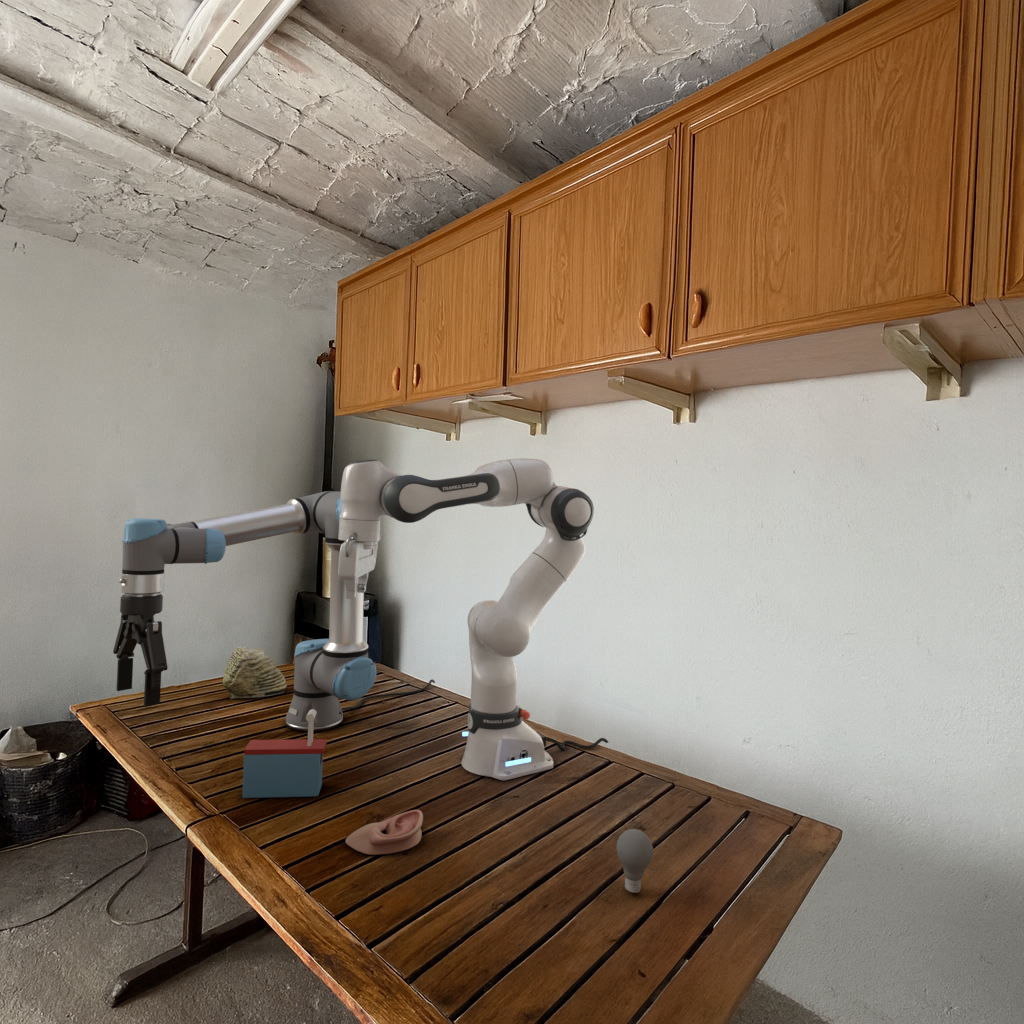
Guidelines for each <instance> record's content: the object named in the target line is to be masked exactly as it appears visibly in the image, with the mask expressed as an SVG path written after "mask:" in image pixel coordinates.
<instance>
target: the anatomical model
mask: <svg viewBox="0 0 1024 1024" xmlns="http://www.w3.org/2000/svg"><path fill="white" fill-rule="evenodd" d="M423 814H424V813H423V812H422V810H420V809H411V810H409V811H404V812H401V813H398V814H396V815H393V816H391V817H388V818H387V819H385V820H382V821H380V822H371V823H368V824H365V825H363V826H361V827H359V828H357V829H356V830H355V831H353V832H352V833H351V834H349V835H348V836H347V837H346V838H345V842H344V843H345V844H346V845H347V846H349V847H350V848H351V849H353V850H355V851H357V852H360V853H362V854H365V855H368V856H369V855H370V856H376V855H387V854H393V853H399V852H403V851H406V850H409V849H411V848H413V847H415V846H416V845H418V844H419V843H420V841H421V840H422V835H423V834H422V832H423V831H422V828H421V827H422V826H423V822H424V815H423Z"/></svg>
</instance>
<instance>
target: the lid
mask: <svg viewBox="0 0 1024 1024" xmlns="http://www.w3.org/2000/svg"><path fill="white" fill-rule="evenodd" d="M316 714H317V712H316V710H314V709H311V710H310V711H309V712H308V714H307V716H306V720H307V721H308V732H307V739H305V738H304V739H302V738H301V739H295V738H294V739H250V740H249V742H248V743H247V745H246V747H245V748H244V750H243V756H244V755H258V754H323V755H324V754H325V751H326V748H327V746H328V739H327V738H315V739H314V732H313V727H314V719H315V716H316Z"/></svg>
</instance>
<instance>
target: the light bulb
mask: <svg viewBox="0 0 1024 1024" xmlns="http://www.w3.org/2000/svg"><path fill="white" fill-rule="evenodd" d="M615 849H616V854H617V857H618V859H619V861H620V863H621V865H622V867H623V873H624V874H623V875H624V876H625V878H624V888H625V890H627V891H628V892H630V893H634V894H635V893H639V892H640V891H641V889H642V887H641V886H642V879H643V877H644V875H645V871H646V868H647V867H648V866H649V864H650V863H651V861H652V859H653V855H654V847H653V843H652V841H651V838H649V836H648V835H647V834H646V833H645V832H643V831H642V830H641V829H636V828H629V829H627V830H625V831H623V832H622V833H621V834H620V835H619V837H618V839H617V841H616V847H615Z"/></svg>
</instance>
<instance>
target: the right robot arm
mask: <svg viewBox="0 0 1024 1024" xmlns="http://www.w3.org/2000/svg"><path fill="white" fill-rule="evenodd" d="M340 492H341V496H340V499H341V504H342V510H341V514H340V517H339V518H340V519H339V537H338V539H339V540H342V541H344V543H342V545H341V548H340V555H339V565H338V576H339V579H345V587H346V598H347V599H354V598H355V597H356V579H357V578H358V584H357V592H358V593H363V592H364V593H365V592H366V591H367V583H368V579H369V573H371V572H372V571H374V570H375V567H376V563H377V556H378V548H379V542H380V541H381V538H382V531H381V518H382V517H383V516H388V517H390V518H393V519H395V520H396V521H398V522H401V523H404V524H405V523H406V524H412V523H413V524H414V523H417V522H419V521H422V520H424V519H425V518H426V517H428V516H429V515H431V514H432V513H434V512H436V511H438V510H442V509H448V508H455V507H460V506H466V505H480V506H482V507H488V508H501V507H502V508H504V507H510V506H511V507H512V506H517V505H522V504H523V505H524V504H525V506H526V510H527V513H528V515H529V517H530V519H531V520H532V521H533V522H534V523H535V524H536V525H538V526H540V527H541V528H544V529H545V532H544V536H543V538H542V540H541V542H540V543H539V544H538V546H537V547H536V548H535V549H533V551H532V552H530V554H529V556H528V557H527V558H526V559H524V561H523V562H522V563H521V565H520V566H519V567H518V568H517V569H516V570H515V571H514V572H513V574H512V575H511V576H510V579H509V582H508V584H507V586H506V588H505V590H504V592H503V593H502V595H501V597H500V598H499V600H498V601H497V600H489V599H488V600H482V601H478V602H477V603H475V604H474V605H473V606H472V607H471V608H470V610H469V613H468V614H467V627H468V644H469V657H470V668H471V669H470V670H471V684H470V685H471V686H470V687H471V689H470V703H469V705H468V713H467V730H468V731H462V733H461V734H462V735H461V736H462V737H467V738H466V745H465V749H464V753H463V756H462V758H461V762H460V765H461V767H462V768H463V769H464V770H465V771H467V772H469V773H472V774H474V775H478V776H482V777H490V778H493V779H496V780H500V781H509V780H512V779H516V778H520V777H524V776H529V775H532V774H536V773H542V772H544V771H549V770H552V769H553V768H554V767H555V765H554V763H555V762H554V758H553V757H552V756H551V755H550V754H549V753H548V752H547V751H546V750H545V747H547V742H550V743H553V744H555V745H556V746H557V747H558V749H560V750H561V751H564V750H565V749H566V745H572V746H575V747H578V748H580V749H585V750H589V749H593V748H596V747H597V746H598V745H599V744H600V743H602V742H604V743H605V744H608V743H609V741H608V740H607V738H605V737H600V738H598V739H597V740H595V742H594V743H592V744H587V745H585V744H581V743H578V742H575V741H574V740H563V741H562V742H561V743H560V742H559V741H557V740H556V739H554V738H551V737H547V736H545V735H544V734H542V733H541V732H539V731H538V730H537V731H536V730H534V728H533V727H531V726H530V725H528V724H527V723H526V722H525V721H527V720H529V719H530V718H531V713H530V712H529V711H528V710H527V709H523V708H522V707H521V706H519V705H517V693H518V691H517V690H518V672H517V669H516V664H515V658H514V657H516V656H519V655H520V654H522V653H523V652H524V651H525V649H526V648H528V647H527V646H528V645H529V642H530V638H531V637H530V635H531V633H532V631H533V629H534V628H535V625H536V623H537V622H538V620H539V618H540V616H541V615H542V612H543V611H544V609H545V608H546V606H547V605H548V604H549V602H550V601H551V600H552V599H553V598H554V596H555V595H556V594H557V593H558V592H559V591H560V589H562V587H563V586H564V584H565V583H566V582H567V581H568V580H569V578H571V576H572V574H573V573H574V572H575V571H576V569H577V568H578V566H579V565H580V563H581V561H582V559H583V558H584V556H585V554H586V544H585V541H584V540H583V537H584V536H586V535H587V533H588V529H589V527H590V525H591V523H592V520H593V518H594V515H595V507H594V503H593V501H592V499H591V497H590V496H589V495H588V494H587V493H585V492H584V491H582V490H580V489H578V488H572V487H568V486H562V485H561V486H560V485H557V484H556V482H555V480H554V474H553V471H552V468H551V467H550V465H549V464H548V463H547V462H546V461H545V460H542V459H538V458H509V459H502V460H496V461H491V462H489V463H485V464H482V465H480V466H478V467H477V468H476V469H475V470H474V472H472V473H470V474H467V475H462V476H454V477H448V478H442V479H429V478H424V477H422V476H418V475H415V474H400V473H398V472H396V471H394V470H392V469H390V468H388V467H387V466H385V465H384V464H383V463H382V462H381V461H380V460H378V459H375V458H373V459H360V460H354V461H351V462H349V463H348V464H347V465H346V466H345V467H344V469H343V472H342V477H341V484H340ZM523 720H524V721H523Z"/></svg>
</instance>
